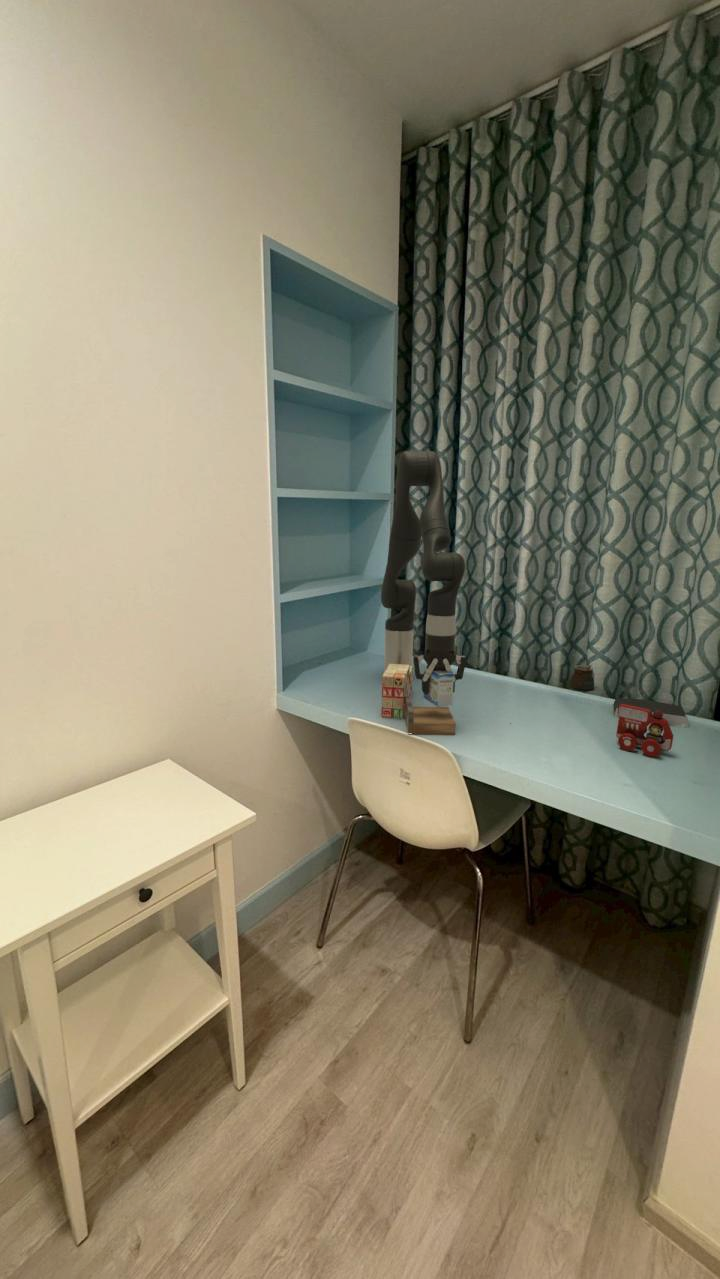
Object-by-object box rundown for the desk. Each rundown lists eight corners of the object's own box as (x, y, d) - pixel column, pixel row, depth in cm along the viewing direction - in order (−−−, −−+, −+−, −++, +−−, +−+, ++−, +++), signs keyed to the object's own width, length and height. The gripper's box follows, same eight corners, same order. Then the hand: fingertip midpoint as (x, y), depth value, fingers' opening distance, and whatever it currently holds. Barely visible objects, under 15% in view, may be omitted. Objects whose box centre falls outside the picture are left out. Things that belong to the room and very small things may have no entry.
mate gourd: (582, 687, 176) (585, 657, 173) (599, 694, 169) (602, 663, 166) (564, 689, 173) (567, 659, 171) (580, 696, 166) (584, 665, 164)
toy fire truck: (667, 761, 123) (674, 719, 121) (610, 747, 131) (615, 707, 128) (672, 751, 129) (678, 710, 126) (616, 738, 136) (621, 699, 134)
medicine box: (422, 697, 144) (423, 666, 142) (437, 695, 145) (438, 665, 143) (437, 707, 137) (439, 675, 135) (452, 705, 138) (454, 673, 136)
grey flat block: (689, 732, 141) (691, 719, 140) (612, 721, 148) (614, 708, 147) (683, 717, 152) (685, 704, 151) (612, 707, 159) (613, 694, 158)
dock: (404, 716, 149) (405, 696, 147) (448, 717, 149) (449, 696, 147) (408, 734, 137) (408, 712, 136) (455, 734, 137) (456, 712, 135)
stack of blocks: (392, 693, 169) (393, 655, 166) (412, 694, 167) (413, 656, 164) (381, 717, 148) (382, 675, 145) (403, 719, 147) (404, 676, 144)
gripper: (466, 628, 140) (462, 689, 144) (411, 628, 140) (409, 689, 144) (471, 635, 133) (467, 699, 137) (413, 634, 133) (411, 698, 137)
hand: (437, 693), depth 141 cm, fingers closed on medicine box, 5 cm apart
